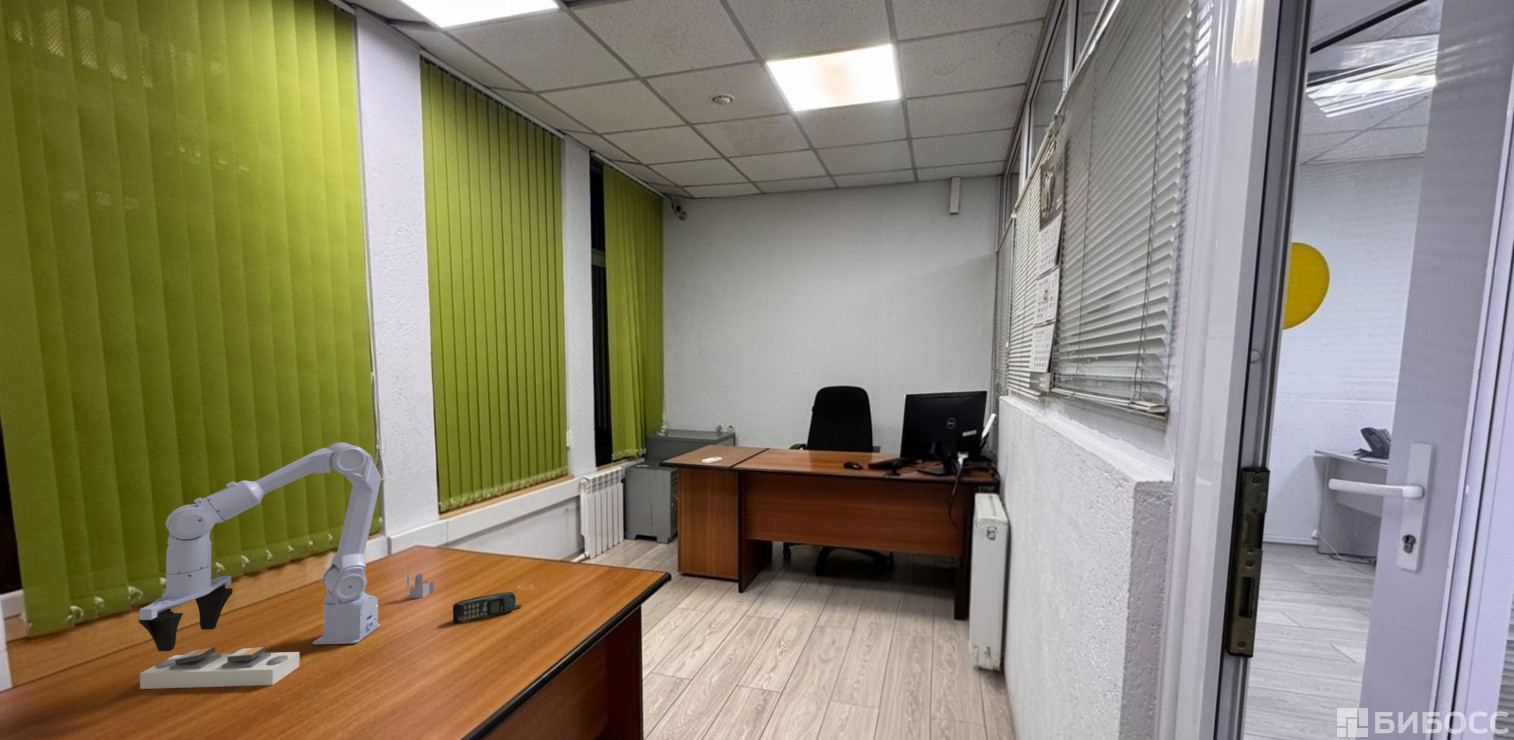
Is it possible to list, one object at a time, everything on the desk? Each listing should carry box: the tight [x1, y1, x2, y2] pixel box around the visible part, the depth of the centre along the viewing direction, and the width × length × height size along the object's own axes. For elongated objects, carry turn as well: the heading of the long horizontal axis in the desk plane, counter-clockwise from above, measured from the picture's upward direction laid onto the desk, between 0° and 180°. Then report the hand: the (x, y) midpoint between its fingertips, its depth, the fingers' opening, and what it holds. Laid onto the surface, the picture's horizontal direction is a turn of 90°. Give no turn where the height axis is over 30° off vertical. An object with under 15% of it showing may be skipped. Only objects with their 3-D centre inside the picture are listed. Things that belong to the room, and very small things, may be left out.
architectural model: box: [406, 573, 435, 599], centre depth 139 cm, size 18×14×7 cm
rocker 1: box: [175, 646, 216, 664], centre depth 98 cm, size 4×3×1 cm
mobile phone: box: [452, 591, 522, 624], centre depth 124 cm, size 5×3×15 cm
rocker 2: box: [227, 646, 266, 662], centre depth 99 cm, size 4×3×1 cm
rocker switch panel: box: [139, 651, 300, 690], centre depth 98 cm, size 24×6×4 cm, turn 93°
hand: (188, 639), depth 95 cm, fingers open, 7 cm apart
